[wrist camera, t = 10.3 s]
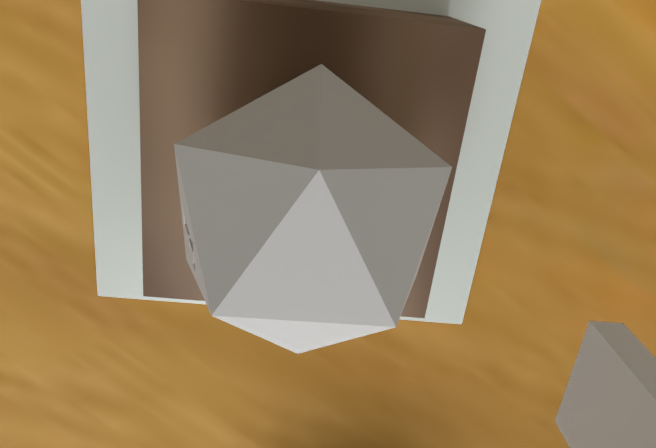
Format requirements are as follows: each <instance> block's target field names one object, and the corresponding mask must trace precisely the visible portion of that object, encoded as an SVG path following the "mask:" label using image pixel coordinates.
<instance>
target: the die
mask: <svg viewBox="0 0 656 448" xmlns="http://www.w3.org/2000/svg"><path fill="white" fill-rule="evenodd" d="M174 148H175V157H176V167H177V176H178V185H179V195H180V204H181V213H182V223H183V232H184V241H185V251H186V260H187V262H188V264H189V267H190V269H191V271H192V273H193V275H194V278H195V280H196V282H197V284H198V287H199V289H200V291H201V293H202V295H203V298H204V300H205V302H206V304H207V307H208V309H209V311H210V313H211V315H212V316H213V317H216V318H218V319H220V320H222V321H225V322H227V323H229V324H232V325H234V326H236V327H238V328H241V329H243V330H245V331H247V332H250V333H252V334H254V335H256V336H259V337H261V338H263V339H265V340H268V341H270V342H272V343H274V344H277V345H279V346H281V347H283V348H286V349H288V350H290V351H292V352H295V353H297V354H298V353H302V352H306V351H309V350H313V349H317V348H321V347H324V346H328V345H332V344H335V343H339V342H343V341H347V340H350V339H354V338H358V337H361V336H365V335H369V334H373V333H376V332H380V331H384V330H387V329H391V328H395V327H396V326H397V323H398V321H399V318H400V316H401V313H402V311H403V308H404V306H405V303H406V301H407V299H408V296H409V294H410V291H411V289H412V286H413V284H414V281H415V279H416V276H417V273H418V270H419V267H420V264H421V261H422V258H423V255H424V252H425V249H426V246H427V243H428V240H429V237H430V234H431V230H432V227H433V224H434V221H435V218H436V215H437V212H438V209H439V206H440V203H441V200H442V197H443V194H444V191H445V188H446V185H447V182H448V179H449V176H450V172H451V169H452V166H450V165H449V164H448V163H447V162H445V161H444V160H443V159H441V158H440V157H439V156H438V155H436V154H435V153H434V152H433V151H431V150H430V149H429V148H427V147H426V146H425V145H424V144H422V143H421V142H420V141H419V140H417V139H416V138H415V137H414V136H412V135H411V134H410V133H408V132H407V131H406V130H405V129H403V128H402V127H401V126H400V125H398V124H397V123H396V122H395V121H393V120H392V119H391V118H389V117H388V116H387V115H386V114H384V113H383V112H382V111H381V110H379V109H378V108H377V107H376V106H374V105H373V104H372V103H370V102H369V101H368V100H367V99H365V98H364V97H363V96H362V95H360V94H359V93H358V92H357V91H355V90H354V89H353V88H351V87H350V86H349V85H348V84H346V83H345V82H344V81H343V80H341V79H340V78H339V77H338V76H336V75H335V74H334V73H332V72H331V71H330V70H329V69H327V68H326V67H325V66H324V65H322V64H320V65H318V66H317V67H315V68H313V69H311V70H309V71H307V72H306V73H304V74H302V75H300V76H298V77H296V78H295V79H293V80H291V81H289V82H287V83H285V84H284V85H282V86H280V87H278V88H276V89H274V90H272V91H271V92H269V93H267V94H265V95H263V96H261V97H260V98H258V99H256V100H254V101H252V102H250V103H249V104H247V105H245V106H243V107H241V108H239V109H238V110H236V111H234V112H232V113H230V114H228V115H227V116H225V117H223V118H221V119H219V120H217V121H216V122H214V123H212V124H210V125H208V126H206V127H204V128H203V129H201V130H199V131H197V132H195V133H193V134H192V135H190V136H188V137H186V138H184V139H182V140H181V141H179V142H177V143H175V144H174Z"/></svg>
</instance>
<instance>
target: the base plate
mask: <svg viewBox="0 0 656 448" xmlns="http://www.w3.org/2000/svg"><path fill="white" fill-rule="evenodd" d="M318 1H326V2H335V3H343V4H351V5H360V6H368V7H377V8H385V9H393V10H402V11H410V12H419V13H427V14H435V15H444V16H449V17H452V18H455V19H458V20H461V21H464V22H466V23H469V24H472V25H475V26H478V27H481V28H484V29H486V33H485V37H484V42H483V47H482V51H481V56H480V61H479V66H478V70H477V75H476V80H475V84H474V89H473V94H472V98H471V103H470V108H469V112H468V117H467V122H466V126H465V131H464V136H463V141H462V145H461V150H460V155H459V159H458V164H457V169H456V173H455V178H454V183H453V187H452V192H451V197H450V201H449V206H448V211H447V216H446V220H445V225H444V230H443V234H442V239H441V244H440V248H439V253H438V258H437V262H436V267H435V272H434V277H433V281H432V286H431V291H430V295H429V300H428V305H427V309H426V314H425V318H414V317H401V316H400V318H399V319H401V320H414V321H427V322H439V323H452V324H462V321H463V317H464V313H465V309H466V305H467V301H468V297H469V293H470V288H471V284H472V280H473V276H474V272H475V268H476V264H477V260H478V256H479V252H480V248H481V244H482V240H483V236H484V231H485V227H486V223H487V219H488V215H489V211H490V207H491V203H492V199H493V195H494V191H495V187H496V183H497V178H498V174H499V170H500V166H501V162H502V158H503V154H504V150H505V146H506V142H507V138H508V134H509V130H510V125H511V121H512V117H513V113H514V109H515V105H516V101H517V97H518V93H519V89H520V85H521V81H522V77H523V72H524V68H525V64H526V60H527V56H528V52H529V48H530V44H531V40H532V36H533V32H534V28H535V24H536V19H537V15H538V11H539V7H540V3H541V0H318ZM81 10H82V28H83V46H84V63H85V81H86V99H87V116H88V134H89V151H90V169H91V187H92V204H93V222H94V239H95V257H96V275H97V292H98V296H106V297H119V298H132V299H145V300H158V301H170V302H183V303H196V304H206V302H205V301H197V300H185V299H172V298H159V297H146V296H143V259H142V208H141V157H140V107H139V56H138V5H137V0H81Z"/></svg>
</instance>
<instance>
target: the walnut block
mask: <svg viewBox="0 0 656 448" xmlns="http://www.w3.org/2000/svg"><path fill="white" fill-rule="evenodd" d="M137 5H138V56H139V107H140V157H141V208H142V259H143V296H146V297H159V298H172V299H185V300H197V301H205V300H204V298H203V295H202V293H201V291H200V289H199V287H198V284H197V282H196V280H195V278H194V275H193V273H192V271H191V269H190V267H189V264H188V262H187V260H186V251H185V241H184V232H183V223H182V213H181V204H180V195H179V185H178V176H177V167H176V157H175V148H174V144H175V143H177V142H179V141H181V140H182V139H184V138H186V137H188V136H190V135H192V134H193V133H195V132H197V131H199V130H201V129H203V128H204V127H206V126H208V125H210V124H212V123H214V122H216V121H217V120H219V119H221V118H223V117H225V116H227V115H228V114H230V113H232V112H234V111H236V110H238V109H239V108H241V107H243V106H245V105H247V104H249V103H250V102H252V101H254V100H256V99H258V98H260V97H261V96H263V95H265V94H267V93H269V92H271V91H272V90H274V89H276V88H278V87H280V86H282V85H284V84H285V83H287V82H289V81H291V80H293V79H295V78H296V77H298V76H300V75H302V74H304V73H306V72H307V71H309V70H311V69H313V68H315V67H317V66H318V65H320V64H322V65H324V66H325V67H326V68H327V69H329V70H330V71H331V72H332V73H334V74H335V75H336V76H338V77H339V78H340V79H341V80H343V81H344V82H345V83H346V84H348V85H349V86H350V87H351V88H353V89H354V90H355V91H357V92H358V93H359V94H360V95H362V96H363V97H364V98H365V99H367V100H368V101H369V102H370V103H372V104H373V105H374V106H376V107H377V108H378V109H379V110H381V111H382V112H383V113H384V114H386V115H387V116H388V117H389V118H391V119H392V120H393V121H395V122H396V123H397V124H398V125H400V126H401V127H402V128H403V129H405V130H406V131H407V132H408V133H410V134H411V135H412V136H414V137H415V138H416V139H417V140H419V141H420V142H421V143H422V144H424V145H425V146H426V147H427V148H429V149H430V150H431V151H433V152H434V153H435V154H436V155H438V156H439V157H440V158H441V159H443V160H444V161H445V162H447V163H448V164H449V165H450V166H452V169H451V172H450V176H449V179H448V182H447V185H446V188H445V191H444V194H443V197H442V200H441V203H440V206H439V209H438V212H437V215H436V218H435V221H434V224H433V227H432V230H431V234H430V237H429V240H428V243H427V246H426V249H425V252H424V255H423V258H422V261H421V264H420V267H419V270H418V273H417V276H416V279H415V281H414V284H413V286H412V289H411V291H410V294H409V296H408V299H407V301H406V303H405V306H404V308H403V311H402V313H401V317H414V318H425V314H426V309H427V305H428V300H429V295H430V291H431V286H432V281H433V277H434V272H435V267H436V262H437V258H438V253H439V248H440V244H441V239H442V234H443V230H444V225H445V220H446V216H447V211H448V206H449V201H450V197H451V192H452V187H453V183H454V178H455V173H456V169H457V164H458V159H459V155H460V150H461V145H462V141H463V136H464V131H465V126H466V122H467V117H468V112H469V108H470V103H471V98H472V94H473V89H474V84H475V80H476V75H477V70H478V66H479V61H480V56H481V51H482V47H483V42H484V37H485V33H486V29H484V28H481V27H478V26H475V25H472V24H469V23H466V22H464V21H461V20H458V19H455V18H452V17H449V16H444V15H435V14H427V13H419V12H410V11H402V10H393V9H385V8H377V7H368V6H360V5H351V4H343V3H335V2H326V1H318V0H137Z"/></svg>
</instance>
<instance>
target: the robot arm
mask: <svg viewBox="0 0 656 448" xmlns="http://www.w3.org/2000/svg"><path fill="white" fill-rule="evenodd" d="M555 422H556V424H557V426H558V428H559V429H560V431H561V433H562V435H563V436H564V438H565V440H566V442H567V443H568V445H569V447H570V448H656V358H655V357H654V356H653V355H652V354H651V353H650V352H649V351H648V349H647V348H646V347H645V346H644V345H643V344H642V343H641V342H640V341H639V340H638V339H637V338H636V336H635V335H634V334H633V333H632V332H631V331H630V330H629V329H628V328H627V327H626V326H625V325H624V323H611V322H597V321H589V324H588V327H587V330H586V333H585V335H584V338H583V341H582V344H581V347H580V350H579V353H578V356H577V358H576V361H575V364H574V367H573V370H572V373H571V376H570V379H569V382H568V384H567V387H566V390H565V393H564V396H563V399H562V402H561V405H560V408H559V410H558V413H557V416H556V419H555Z"/></svg>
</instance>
